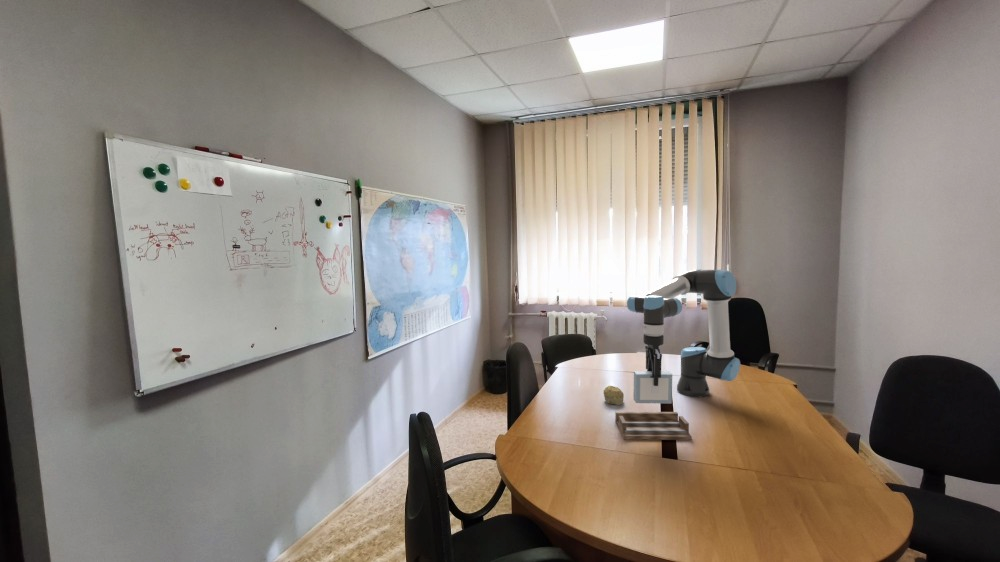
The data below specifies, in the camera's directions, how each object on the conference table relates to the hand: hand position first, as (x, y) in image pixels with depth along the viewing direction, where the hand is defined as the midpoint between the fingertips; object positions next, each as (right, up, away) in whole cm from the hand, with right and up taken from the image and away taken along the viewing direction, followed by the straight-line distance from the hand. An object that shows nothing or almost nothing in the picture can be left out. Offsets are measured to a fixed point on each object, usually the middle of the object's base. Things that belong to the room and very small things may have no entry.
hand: (653, 390), depth 158 cm
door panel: (0, -5, +1) cm, 5 cm away
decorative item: (-6, -15, +34) cm, 38 cm away
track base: (+1, -18, +4) cm, 18 cm away
